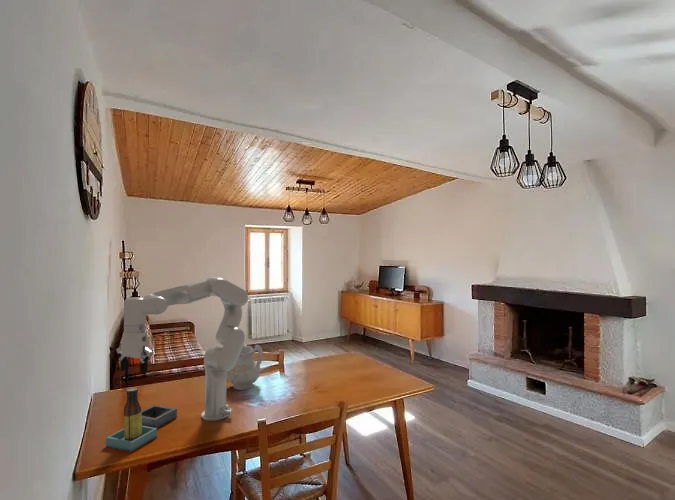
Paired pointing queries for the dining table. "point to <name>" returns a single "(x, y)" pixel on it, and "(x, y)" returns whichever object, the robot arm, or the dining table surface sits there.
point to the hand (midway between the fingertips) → (134, 371)
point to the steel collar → (163, 416)
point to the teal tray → (122, 444)
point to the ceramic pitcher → (246, 368)
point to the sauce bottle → (132, 416)
